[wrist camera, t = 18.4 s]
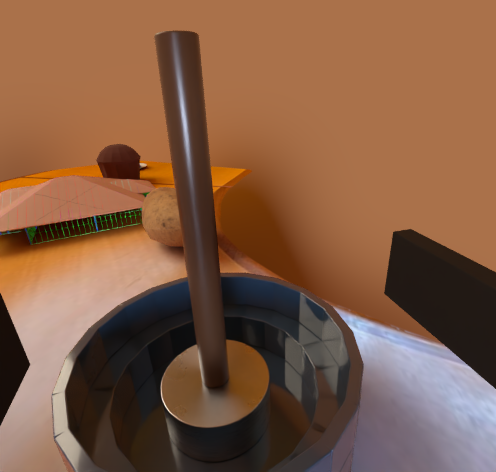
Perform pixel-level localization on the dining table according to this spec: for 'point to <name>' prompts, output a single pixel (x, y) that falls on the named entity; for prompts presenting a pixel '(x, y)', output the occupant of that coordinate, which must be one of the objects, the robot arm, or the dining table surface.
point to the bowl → (183, 337)
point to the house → (69, 202)
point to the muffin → (119, 162)
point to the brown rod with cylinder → (204, 285)
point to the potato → (162, 216)
